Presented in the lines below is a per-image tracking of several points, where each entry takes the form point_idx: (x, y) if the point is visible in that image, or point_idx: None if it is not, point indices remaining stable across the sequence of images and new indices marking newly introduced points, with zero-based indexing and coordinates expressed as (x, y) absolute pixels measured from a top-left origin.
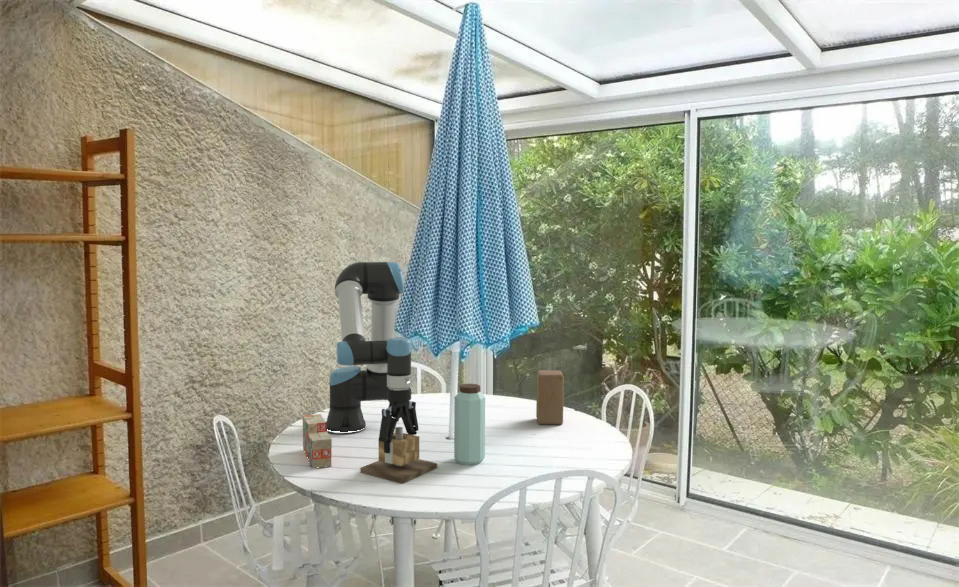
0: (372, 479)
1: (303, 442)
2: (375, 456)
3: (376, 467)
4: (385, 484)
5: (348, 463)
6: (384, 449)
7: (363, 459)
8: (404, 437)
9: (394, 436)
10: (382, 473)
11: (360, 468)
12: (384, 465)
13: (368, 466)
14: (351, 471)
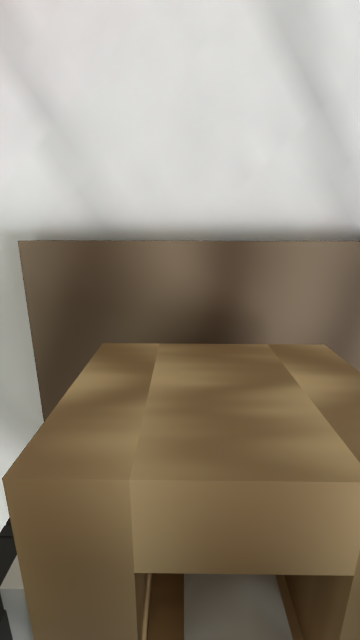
0: (9, 374)
1: None
2: (356, 71)
3: (94, 326)
4: (10, 463)
5: (107, 3)
6: (5, 531)
7: (248, 39)
8: (324, 630)
9: (260, 565)
10: (44, 421)
11: (20, 241)
12: (154, 342)
13: (72, 270)
14: (8, 172)
